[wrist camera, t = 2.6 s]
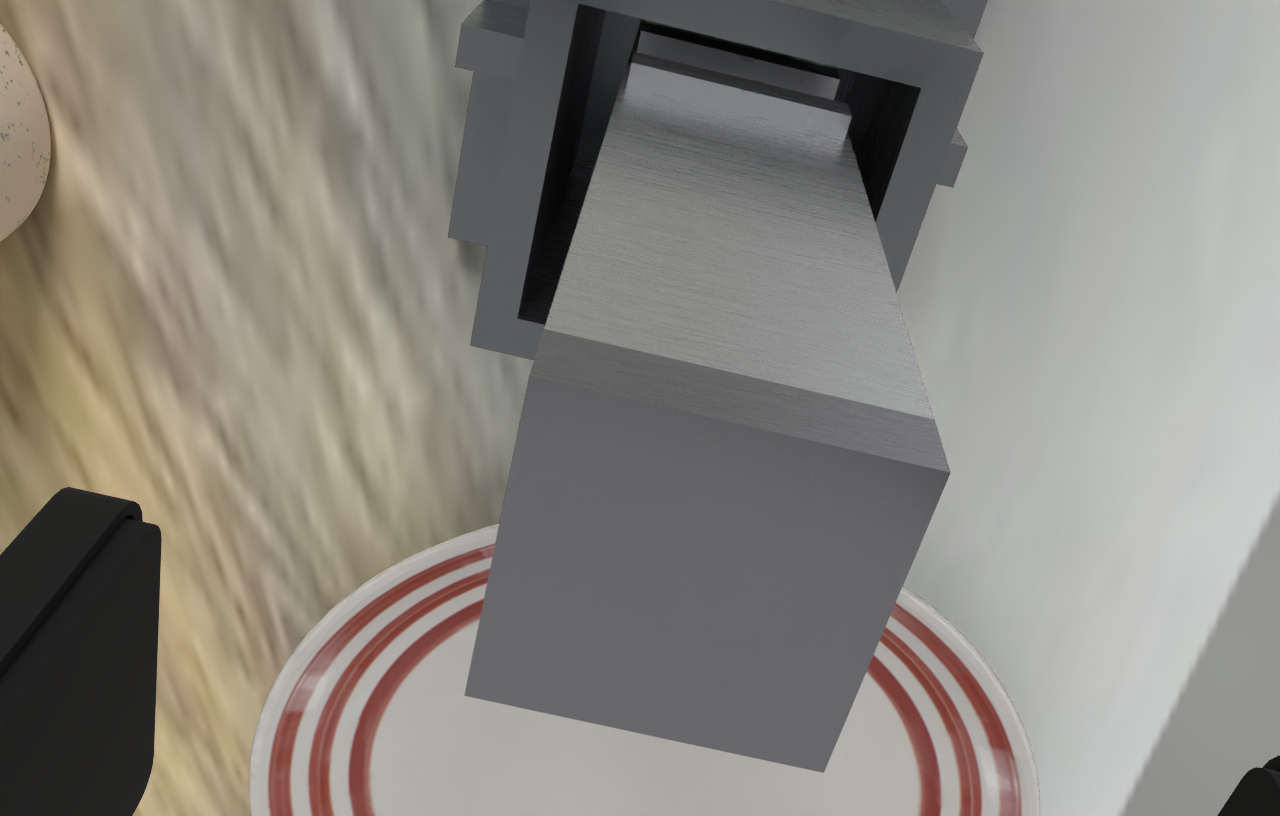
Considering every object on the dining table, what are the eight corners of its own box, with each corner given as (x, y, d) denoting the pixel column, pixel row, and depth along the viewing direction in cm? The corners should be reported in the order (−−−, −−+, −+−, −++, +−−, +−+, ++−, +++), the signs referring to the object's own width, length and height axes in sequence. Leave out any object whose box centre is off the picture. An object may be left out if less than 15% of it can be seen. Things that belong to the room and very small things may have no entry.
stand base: (530, -248, 28) (426, -240, 19) (1018, -122, 29) (1165, -51, 19) (456, 222, 34) (347, 415, 24) (863, 318, 35) (915, 544, 25)
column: (658, -40, 29) (537, 337, 11) (817, 0, 29) (965, 436, 11) (616, 149, 31) (459, 722, 13) (764, 185, 32) (813, 798, 13)
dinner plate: (671, 299, 35) (665, 349, 32) (1173, 818, 44) (1205, 894, 41) (131, 739, 45) (90, 807, 43) (626, 1089, 54) (620, 1165, 51)
